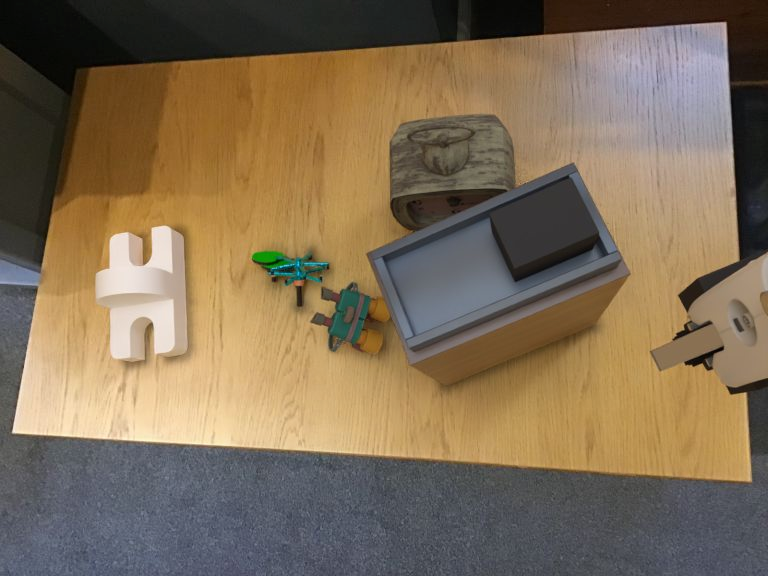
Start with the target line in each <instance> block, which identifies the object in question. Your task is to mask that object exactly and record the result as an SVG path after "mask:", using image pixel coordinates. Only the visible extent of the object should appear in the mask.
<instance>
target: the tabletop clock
mask: <svg viewBox="0 0 768 576" xmlns="http://www.w3.org/2000/svg"><path fill="white" fill-rule="evenodd" d="M388 151H389V208H390V211H391V214H392V217H393V218H394V219H395V221H396V222H397V223H398V224H399V225H400V226H402V227H403V228H404V229H406V230H409V231H410V232H411V231H412V232H416V231H418V230H420V229H423V228H425V227H427V226H429V225H432V224H434V223H436V222H438V221H441V220H443V219H445V218H448V217H450V216H452V215H454V214H457V213H459V212H461V211H464V210H466V209H468V208H470V207H473V206H475V205H477V204H479V203H482V202H484V201H486V200H489V199H491V198H493V197H495V196H498V195H500V194H502V193H505V192H507V191H509V190H511V189H514V188H516V187H517V184H516V182H517V181H516V165H515V163H516V162H515V148H514V143H513V138H512V136H511V134H510V132H509V130H508V129H507V128H506V126H505V125H504V123H503V122H502V120H501V119H500V118H499V117H498V116H497V115H496V114H491V113H469V114H460V115H459V114H458V115H457V114H456V115H446V116H438V117H437V116H436V117H430V118H420V119H414V120H408V121H406V122H405V121H404V122H403V123H399V125H398V126H397V128H396V130H395V132H394V133H393V135H392V137H391V138H390V141H389V149H388Z"/></svg>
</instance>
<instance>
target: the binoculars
mask: <svg viewBox="0 0 768 576" xmlns="http://www.w3.org/2000/svg"><path fill="white" fill-rule="evenodd" d="M320 299H321V300H324V301H326V302H333V303H335V305H334V310H335V311H334V312H333V313H332V315H331V317H329V316H326V315H325V314H324V313H321V312H318V311H316V312H315V313H314V314H313V316H312V318H311V320H310V321H309V323H311V324H314V325H317V326H320V327H321V326H323V327H327V334H328V338H327V339H328V340H327V346H328V347H327V348H328V351H330V352H333V353H336V352H337V351H338V350H339V348H341V346H342V345H343V344H344V345H346V344H348V343H349V344H350V347H351V348H353V350H356V351H358V352H360V353H364V352H367V353H369V354H371V355H376V354H377V353H379V351H380V349H381V348H382V345H383V341H384V335H383V333H382V332H381V331H379V330H375V329H372V328H369V327H367V328H363V327H364V324H365V320H367V321H369V322H370V323H374V321H375V320H377V321H379V322H382V323H385V322H387V321H388V320H389V318H391V316H390V313H389V311H388V308H387V306H386V303H385V301H384V298H383V297H381V296H376V297H375V298H374V297H371V296H370V295H368V294H365V293H363V292H361V291H360V290H359V284H358V282H355V281H351V282H350V283H349V284H348V285H347V286H346V288H342V289H340V291H339V293H338V292H335V291H334V290H333V289H330V288H328V287H324V286H322V285H321V286H320ZM334 338H336V339H335V343H334Z"/></svg>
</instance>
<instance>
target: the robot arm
mask: <svg viewBox="0 0 768 576" xmlns="http://www.w3.org/2000/svg"><path fill="white" fill-rule="evenodd" d="M686 317H687V319H690V318H691V319H690V320H689V321H687V322H686V323H684V324H683V330H680V331H678V332H675V336H674V337H672V341H670V342H667V343H665V344H663V345H660V346H658V347H656V348H654V349H652V350H649V353H650V355H651V357H652V359H653V361H654V363H655V365H656V368H657V370H658V371H659V372H663V371H665V370H668V369H670V368H673V367H675V366H678V365H680V364H683V363H684V365H685V367H686V366H688V367H689V366H691V367H692V368H696V367H697V366H700V365H703V367H704V369H705V370H706V371H707V372H710V371H713V372H714V373H715V375H716V376H717V378H718V380H719V381H720V383H721V384H722V385H724V386H725V387H726V386H730V387H739V386H742V385H745V384H748V383H752V382H755V381H758V380H762V379H765V378H768V252H767V253H766V254H764V255H762V256H761V257H759V258H758V259H756V260H753V261H750V262H749V263H748V264H747V265H746V266H745V267H743V268H742V269H740V270H738V271H737V272H735V273H734V274H732V275H731V276H729V277H727V278H726V279H724V280H723V281H721V282H720V283H718V284H717V285H715V286H714V287H712V288H711V289H710V290H708V291H707V292H705V293H704V294H702V295H701V296H700V297H698V298H697V299H696V300H695V301H694V302H693V303H692V305H691V306H690V308H689V311H688V314H687V315H686Z"/></svg>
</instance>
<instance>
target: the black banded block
mask: <svg viewBox="0 0 768 576" xmlns="http://www.w3.org/2000/svg"><path fill="white" fill-rule="evenodd" d="M767 252H768V248H767V249H764V250H762V251H759V252H757V253H755V254H752V255H750V256H748V257H745V258H743V259H740V260H738V261H735V262H733V263H730V264H728V265H726V266H725V265H724V266H723V267H721V268H719V269H716V270H713V271H711V272H709V273H706V274H704V275H702V276H698V277H696V279H694V280H693V281H692V282H691V283H690V284H689V285H688V286H687V287H685V288H684V289H683V290H682V291H680V292H679V294H677V296H678V299H679V301H680V302H681V304H682V306H683V308H684V310H685V312H686V314H687V315H688V311H689V308H690V306H691V305H692V303H693V302H694V301H695V300H696V299H697V298H698V297H700V296H701V295H702V294H704V293H705V292H707V291H708V290H710V289H711V288H712V287H714V286H715V285H717V284H718V283H720V282H721V281H723V280H724V279H726V278H727V277H729V276H731V275H732V274H734V273H735V272H737V271H738V270H740V269H742V268H743V267H745V266H746V265H747V264H748V263H749V262H750V261H753V260H756V259H758V258H759V257H761V256H762V255H764V254H766V253H767ZM689 319H690V320H691V318H689ZM725 387H726V390H727V391H728V394H729V395H731V396H733V395H740V394H745V393H750V392H756V391H760V390H763V389H766V388H768V378H765V379H762V380H758V381H755V382H752V383H748V384H745V385H742V386H739V387H730V386H726V385H725Z"/></svg>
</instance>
